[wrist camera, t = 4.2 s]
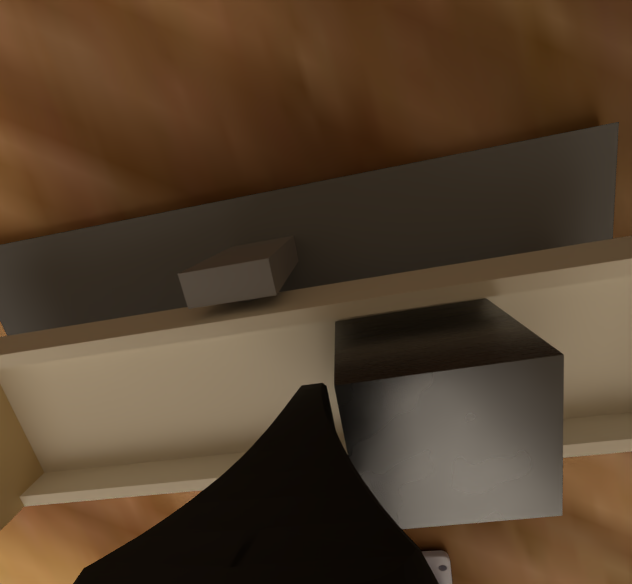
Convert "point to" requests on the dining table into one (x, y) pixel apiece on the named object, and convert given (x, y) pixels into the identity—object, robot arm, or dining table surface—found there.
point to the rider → (452, 414)
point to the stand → (319, 233)
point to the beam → (280, 372)
